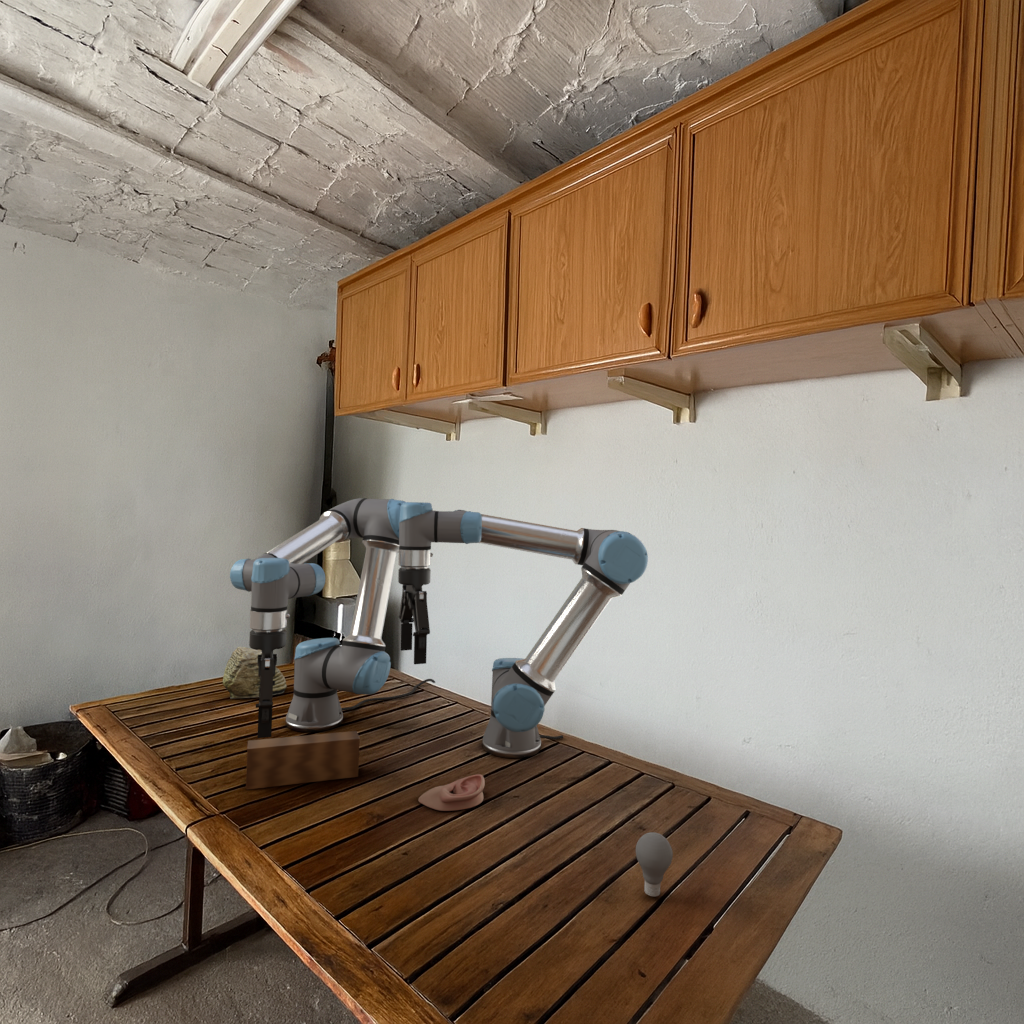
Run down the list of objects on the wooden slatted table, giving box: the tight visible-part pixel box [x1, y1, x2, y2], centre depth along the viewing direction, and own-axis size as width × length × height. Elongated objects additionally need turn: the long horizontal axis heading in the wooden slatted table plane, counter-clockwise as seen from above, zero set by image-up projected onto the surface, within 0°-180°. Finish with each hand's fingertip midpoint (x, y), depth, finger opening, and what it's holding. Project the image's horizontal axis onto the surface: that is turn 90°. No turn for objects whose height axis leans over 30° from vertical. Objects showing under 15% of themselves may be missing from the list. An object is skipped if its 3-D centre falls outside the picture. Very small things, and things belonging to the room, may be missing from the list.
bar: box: [245, 730, 361, 790], centre depth 142 cm, size 24×5×9 cm, turn 111°
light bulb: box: [635, 831, 674, 897], centre depth 105 cm, size 6×6×10 cm
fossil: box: [222, 646, 288, 699], centre depth 198 cm, size 9×18×15 cm, turn 132°
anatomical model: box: [417, 773, 486, 812], centre depth 135 cm, size 13×4×12 cm
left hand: (264, 725), depth 139 cm, fingers open, 13 cm apart
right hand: (412, 656), depth 150 cm, fingers open, 13 cm apart
